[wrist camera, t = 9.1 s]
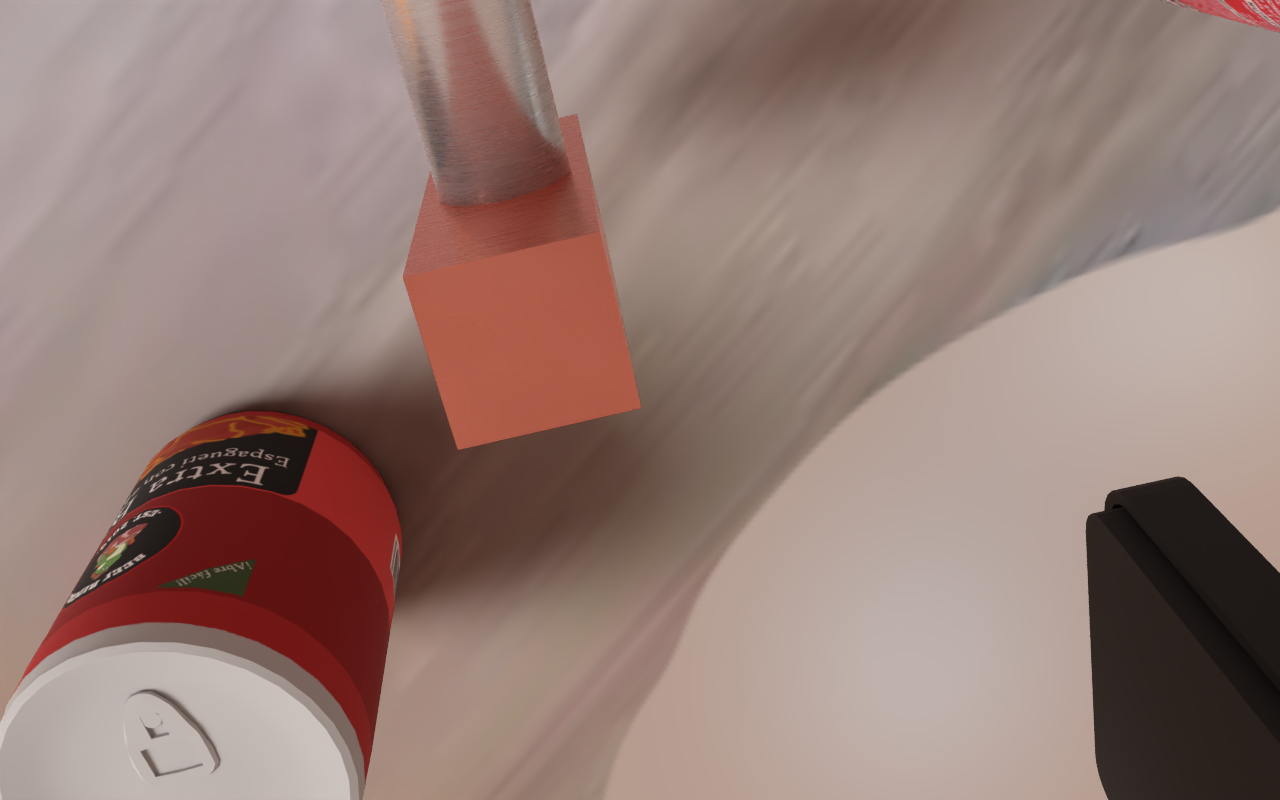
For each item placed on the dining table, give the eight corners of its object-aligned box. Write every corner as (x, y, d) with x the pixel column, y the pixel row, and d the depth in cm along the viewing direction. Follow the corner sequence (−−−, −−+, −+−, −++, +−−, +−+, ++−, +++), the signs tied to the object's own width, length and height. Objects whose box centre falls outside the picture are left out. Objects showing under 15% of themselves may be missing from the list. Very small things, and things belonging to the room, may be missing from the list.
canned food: (301, 354, 33) (208, 580, 23) (457, 560, 36) (434, 834, 26) (78, 481, 34) (-103, 748, 24) (250, 669, 37) (153, 972, 27)
